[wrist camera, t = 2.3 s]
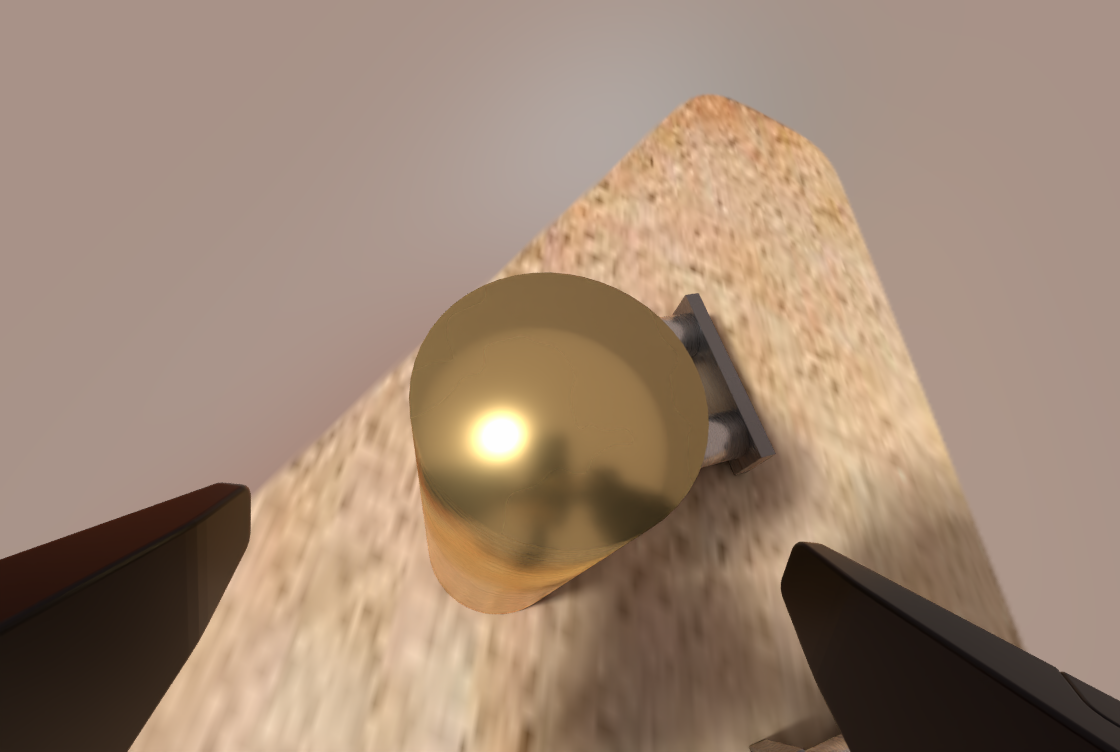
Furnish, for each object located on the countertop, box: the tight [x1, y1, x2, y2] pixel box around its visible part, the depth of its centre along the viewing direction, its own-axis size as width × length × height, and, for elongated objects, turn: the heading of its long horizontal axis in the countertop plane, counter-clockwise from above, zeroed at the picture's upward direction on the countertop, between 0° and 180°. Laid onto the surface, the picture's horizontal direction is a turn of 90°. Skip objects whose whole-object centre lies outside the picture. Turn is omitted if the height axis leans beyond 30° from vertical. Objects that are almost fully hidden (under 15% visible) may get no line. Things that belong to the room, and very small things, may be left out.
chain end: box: [660, 293, 776, 475], centre depth 20 cm, size 7×4×2 cm, turn 16°
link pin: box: [409, 273, 709, 614], centre depth 13 cm, size 5×5×11 cm
